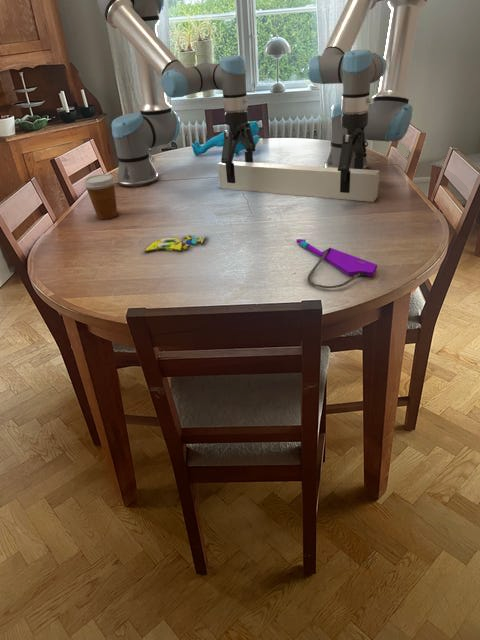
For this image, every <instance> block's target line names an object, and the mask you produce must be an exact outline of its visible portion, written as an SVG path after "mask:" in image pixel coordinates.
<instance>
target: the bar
mask: <svg viewBox="0 0 480 640" xmlns="http://www.w3.org/2000/svg"><path fill="white" fill-rule="evenodd" d="M232 163H234V171H235V183H227V174H226V164H225V163H221V162H219V163H217V170H218V172H217V173H218V181H219V188H220V189H224V190H235V191H237V190H238V191H248V192H249V191H250V192H259V193H270V194H281V195H293V196H303V197H315V198H325V199H335V200H345V201H346V200H348V201H357V202H368V203H369V202H370V203H374V202H375V201H376V200H377V198H378V193H379V181H380V170H379V169H366V170H365V169H349V170H350V192H349V193H342V192H340V177H341V171H338V168H332V167H325V166H316V165H297V164H283V163H269V162H267V163H266V162H265V163H264V162H253V163H252V162H245V161H234V160H233V161H232Z"/></svg>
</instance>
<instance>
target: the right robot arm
mask: <svg viewBox="0 0 480 640" xmlns="http://www.w3.org/2000/svg"><path fill="white" fill-rule="evenodd" d="M381 1H383V0H347V1H346V3H345V5H344V7H343V10H342V12H341V14H340V16H339V18H338V20H337V22H336V24H335V26H334V29H333V30H332V33H331V35H330V37H329V39H328V41H327V43H326V45H325V48H324V49H323V51H322V53H321V55H320V54H318V55H315V56H312V57H310V59H309V61H308V64H307V76H308V79H309V82H311V83H312V84H319V85H335V84H338V85H339V84H341V85H342V92H341V101H339V102H336V103H334V104H333V105H332V107H331V114H330V146H329V147H330V148H329V151H328V154H327V156H326V160H325V161H324V167H332V168H338V171H341V177H340V192H342V193H349V192H350V170H349V169H365V170H368V159H367V156H368V153H367V147H368V146H369V142H368V141H374V142H375V141H376V142H386V143H388V142H399V141H401V140H402V139H403V138H404V137H405V136H406V134H407V133H408V131H409V127H410V126H411V121H412V119H413V118H412V117H413V110H414V109H413V105H412V104H411V103H409V101H410V99H409V97H408V95H407V94H406V92H407V91H406V90H407V85H408V79H409V73H410V67H411V62H412V58H413V51H414V45H415V41H416V40H415V39H416V33H417V28H418V23H419V17H420V12H421V10H422V9H424V7H426V5H427V1H428V0H387V6H388V7H389V8H390V10H391V11H390V19H389V25H388V31H387V38H386V43H385V49H384V56H383V55H382V54H381V53H378V52H372V50H370V49H365V48H364V49H353V47H354V45H355V42H356V40H357V38H358V36H359V34H360V32H361V29H362V27H363V25H364V23H365V21H366V18H367V16H368V14H369V12H370V11H371V10H373V8H374V7H375V6H376V4H377V3H378V2H381ZM378 81H379V87H378V91H377V93H376V94H375V95H373V96H372V100H371V99H370V94H371V93H370V90H371V89H370V88H371V84H373V83H376V82H378Z"/></svg>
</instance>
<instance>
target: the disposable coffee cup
mask: <svg viewBox="0 0 480 640" xmlns="http://www.w3.org/2000/svg"><path fill="white" fill-rule="evenodd" d="M115 184H116V179H115V178H114V176H113V174H110V173H109V174H107V173H100V174H94V175H91V176H90V175H89V176H88V177H86V178H85V179H84V183H83V186H84V187H85V189H86V191H87V194H88V196H89V199H90V200H91V204H92V206H93V209H94V212H95V214H96V217H97V218H98V219H99V220H100V219H101V220H106V219H112V218H115V217H116V216H118V208H117V197H116V187H115Z"/></svg>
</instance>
